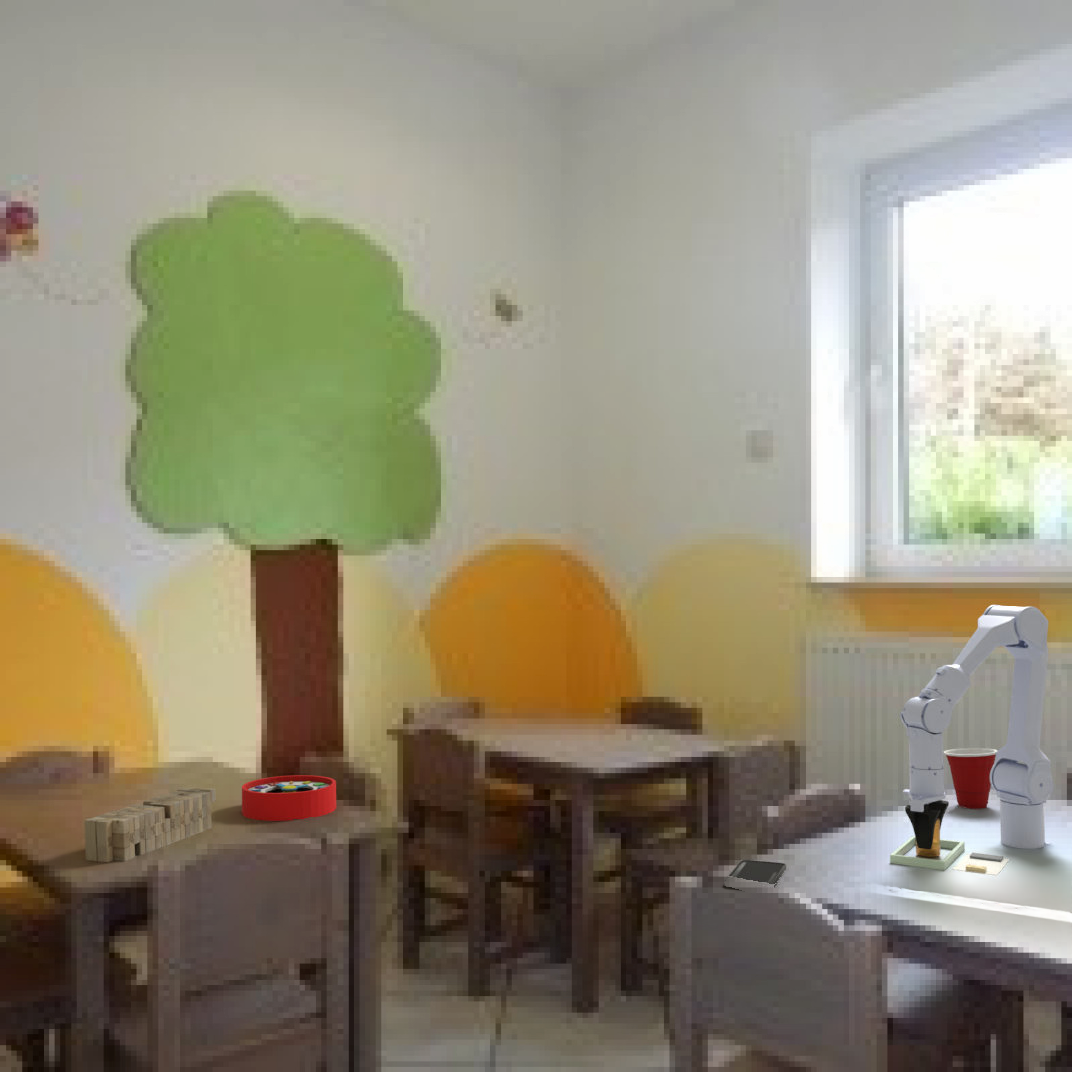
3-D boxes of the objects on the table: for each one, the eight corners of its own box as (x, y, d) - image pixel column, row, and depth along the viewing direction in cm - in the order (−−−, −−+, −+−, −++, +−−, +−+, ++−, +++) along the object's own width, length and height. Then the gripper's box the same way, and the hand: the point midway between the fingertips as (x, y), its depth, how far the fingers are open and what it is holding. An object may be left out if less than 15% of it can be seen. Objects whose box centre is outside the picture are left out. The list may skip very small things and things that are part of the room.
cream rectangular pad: (966, 860, 198) (966, 850, 198) (1009, 866, 194) (1009, 855, 194) (952, 876, 188) (952, 865, 188) (997, 882, 185) (997, 871, 185)
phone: (722, 882, 184) (742, 859, 198) (722, 889, 184) (742, 865, 198) (771, 887, 181) (788, 863, 195) (771, 894, 181) (788, 869, 195)
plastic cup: (961, 798, 248) (959, 743, 248) (1008, 806, 240) (1007, 749, 240) (934, 805, 241) (933, 749, 241) (982, 814, 233) (981, 755, 233)
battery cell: (919, 849, 200) (918, 811, 200) (942, 852, 197) (942, 814, 198) (913, 854, 196) (912, 816, 196) (937, 857, 194) (936, 819, 194)
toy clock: (266, 798, 231) (226, 783, 247) (266, 826, 231) (226, 810, 247) (352, 784, 244) (309, 771, 260) (353, 811, 244) (309, 797, 259)
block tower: (119, 869, 204) (218, 827, 231) (117, 822, 204) (216, 785, 231) (84, 865, 207) (186, 824, 234) (82, 819, 207) (184, 783, 234)
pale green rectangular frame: (912, 849, 206) (912, 835, 206) (964, 856, 201) (964, 842, 201) (890, 869, 193) (890, 854, 193) (945, 876, 188) (944, 861, 188)
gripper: (913, 758, 205) (915, 833, 205) (891, 771, 193) (893, 851, 193) (954, 761, 202) (955, 838, 201) (934, 775, 189) (936, 857, 189)
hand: (927, 845), depth 197 cm, fingers closed on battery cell, 4 cm apart
